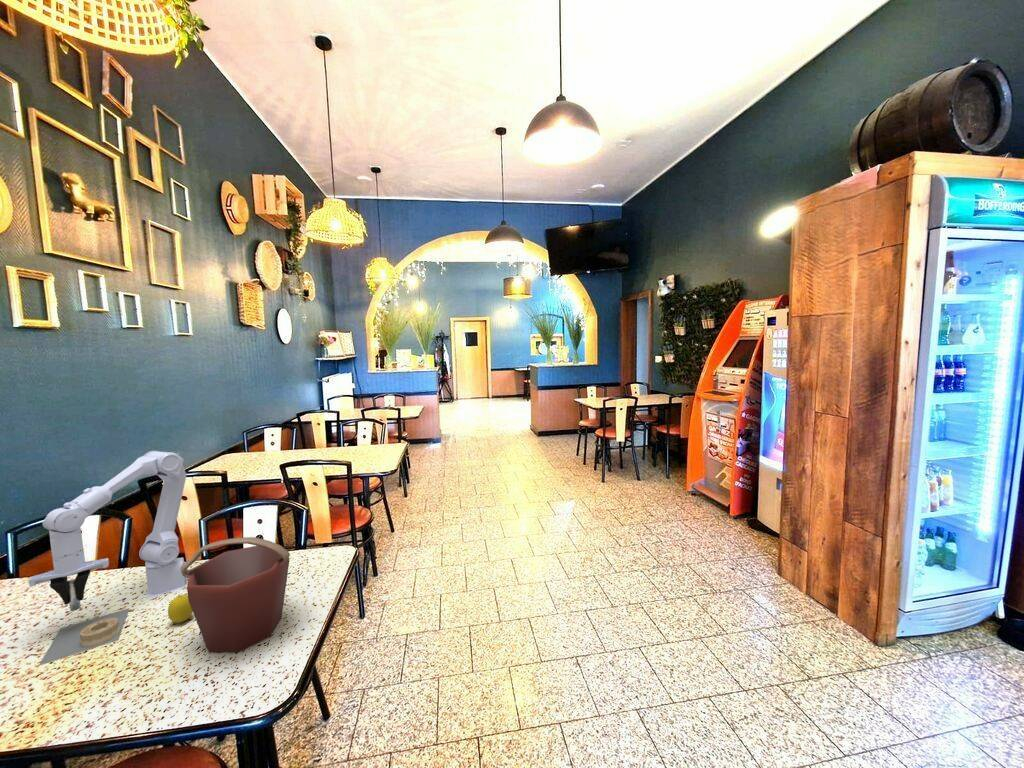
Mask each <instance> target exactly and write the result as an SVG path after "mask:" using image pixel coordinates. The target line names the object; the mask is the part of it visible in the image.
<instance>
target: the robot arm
mask: <svg viewBox="0 0 1024 768" xmlns="http://www.w3.org/2000/svg"><path fill="white" fill-rule="evenodd" d="M183 464H184V458H182V457H181V456H180V455H179V454H178V453H177V452H170V451H169V452H168V451H158V450H151V451H148V452H146V453H145V454H144V455H143V456H142V455H141V456H139V457H138V458H136V460H135V461H134V462H132V463H131V465H130V464H129V466H128V467H126V468H125V469H123V470H122V471H121V472H120V473H117V475H116V476H114V477H112V478H111V479H110V480H108V481H107V482H106V483H104V484H103V485H101V486H96V485H95V486H92V487H91V488H89V487H88V488H87V487H86V489H83V491H82V494H80V495H79V496H77V497H75V498H74V499H73V500H71V501H70V502H68V501H67V502H64V504H63V507H58V508H56V509H55V508H54V509H53V510H52V511H50V512H48V514H47V515H46V517H45V518H44V521H43V522H41V525H42V526H43V528H44V529H46V530H48V533H49V542H50V549H51V550H50V551H51V557H52V565H53V570H52V569H51V570H49V571H47V572H43V573H40V574H37V575H33V576H30V577H29V579H28V586H29V588H33V587H35V586H36V585H40V584H43V583H47V582H49V583H50V584H49V587H50V589H52V590H53V591H55V592H56V593H57V595H59V597H60V599H62V601H63V603H64V605H65V606H67V605H69V598H68V591H67V583H66V582H67V581H68V577H71V576H74V575H76V576H75V578H74V579H75V580H76V583H77V588H78V599H79V601H80V602H81V601H83V600H84V597H85V590H86V585H87V582H88V578H89V576H90V574H91V571H93V570H97V569H102V568H103V569H105V568H108V567H109V566H110V565H109V564H110V560H109V558H108V557H106V558H101V559H95V560H89V561H86V557H85V551H84V544H83V534H82V529H81V527H82V525H84V523H85V520H86V518H88V517H90V516H91V515H93V514H95V512H97V511H98V510H99V509H101V508H103V507H104V506H105V505H106V504H108V503H109V502H111V500H112V497H113V495H114V494H115V493H116V492H118V491H120V490H121V489H123V488H124V487H126V486H127V485H129V484H130V483H133V482H134V481H136V480H137V479H139V478H140V477H142V476H148V475H156V476H158V477H159V478H160V479H161V480H162V481H163V484H162V488H161V492H160V495H159V496H160V497H159V500H158V501H159V502H158V505H157V510H156V515H155V519H154V523H153V528H152V532H150V534H148V535H147V536H146V538H145V541H144V543H143V545H142V546H141V548H140V549H139V552H138V554H139V557H140V559H141V560H142V561H144V562H145V564H144V565H145V574H146V583H147V584H146V585H147V591H146V594H145V599H149V598H153V597H156V596H159V595H163V594H166V593H170V592H174V591H177V590H181V589H184V588H185V586H186V581H187V578H186V577H184V576H183V575H182V573H181V566H182V565H183V564H184V563H185V559H184V557H178V556H179V554H180V547H179V538H178V536H177V534H176V532H175V529H176V525H177V521H178V516H179V511H180V507H181V502H182V499H183V498H182V497H183V494H184V488H185V485H186V484H185V483H186V480H187V473H186V470H185V466H184V465H183Z"/></svg>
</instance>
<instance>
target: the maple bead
mask: <svg viewBox="0 0 1024 768" xmlns="http://www.w3.org/2000/svg"><path fill="white" fill-rule="evenodd" d="M119 631H120V627H119V619H117V618H107V619H103V620H100V621H97V622H95V623H93V624H90V625H88V626H87V627H85V628H84V629H83V630H81V632H80V641H81V645H82V646H83V647H91V646H95V645H99V644H102V643H104V642H106V641H108V640H110V639H112V638H113V637H115V636H116V635H117V634H118V633H119Z"/></svg>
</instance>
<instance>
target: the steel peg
mask: <svg viewBox="0 0 1024 768" xmlns="http://www.w3.org/2000/svg"><path fill="white" fill-rule="evenodd" d="M66 583H67V591H68V598H69V604H68V606H69V612H74V611H77V610H80V609H81V607H82V606H81V605H82V604H81V601H79V599H78V588H77V583H76V580H75V578H72V579H69V580H67V582H66Z"/></svg>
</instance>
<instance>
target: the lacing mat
mask: <svg viewBox="0 0 1024 768" xmlns="http://www.w3.org/2000/svg"><path fill="white" fill-rule="evenodd" d="M129 611H130V607H129V608H126V609H123V610H119V611H118V610H117V611H114V612H112V613H107V614H105V615H102V616H98V617H94V618H91V619H87V620H84V621H81V622H78V623H74V624H70V625H67V626H64V627H60V628H59V629H58V632H57V633H56V635H55V637H54V638H53V640H52V642H51V643H50V646H49V647H48V649H47V651H46V653H45V654H44V655H43V657H42V660H41V661H40V662H39V664H38V666H42V665H45V664H49V663H51V662H55V661H58V660H61V659H64V658H67V657H70V656H74V655H76V654H80V653H83V652H85V651H90V650H93V649H95V648H99V647H101V646H104V645H107V644H111V643H114V642H117V641H119V640H120V637H121V634H122V631H123V629H124V625H125V622H126V620H127V617H128V614H129ZM107 618H117V619H119V627H120V631H119V633H118V634H117V635H116V636H115V637H113V638H112V639H110V640H108V641H106V642H104V643H102V644H99V645H95V646H91V647H83V646H82V645H81V641H80V632H81V630H83V629H84V628H85V627H87V626H88V625H90V624H93V623H95V622H97V621H100V620H103V619H107Z"/></svg>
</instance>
